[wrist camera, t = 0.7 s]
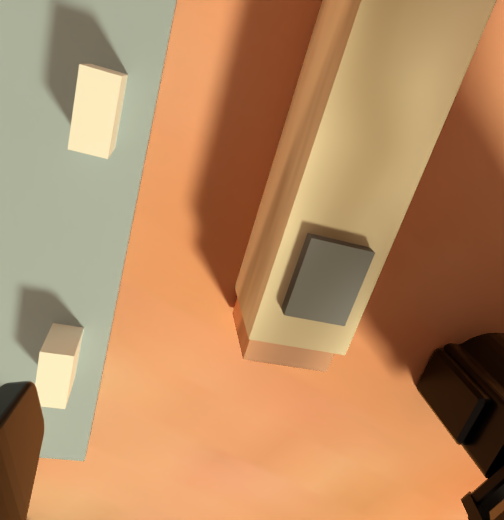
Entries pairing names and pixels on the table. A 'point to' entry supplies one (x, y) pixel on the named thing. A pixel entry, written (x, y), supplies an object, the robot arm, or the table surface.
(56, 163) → the jig
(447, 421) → the robot arm
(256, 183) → the table surface
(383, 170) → the beam with grey square
